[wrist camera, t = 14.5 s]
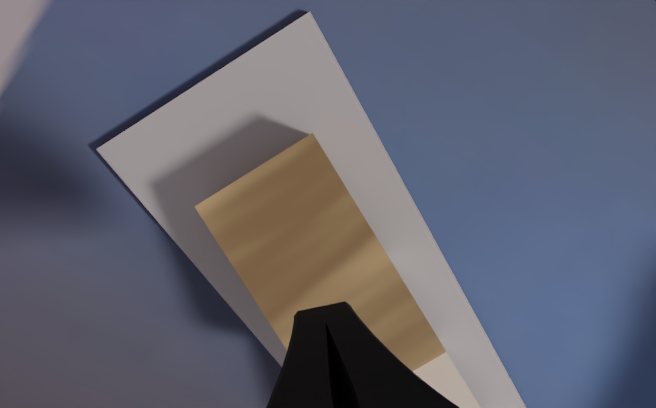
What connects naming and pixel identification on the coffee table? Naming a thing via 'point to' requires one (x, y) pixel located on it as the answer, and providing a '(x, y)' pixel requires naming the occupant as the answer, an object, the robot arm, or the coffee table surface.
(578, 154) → the coffee table surface
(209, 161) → the felt strip
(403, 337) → the ochre tile
